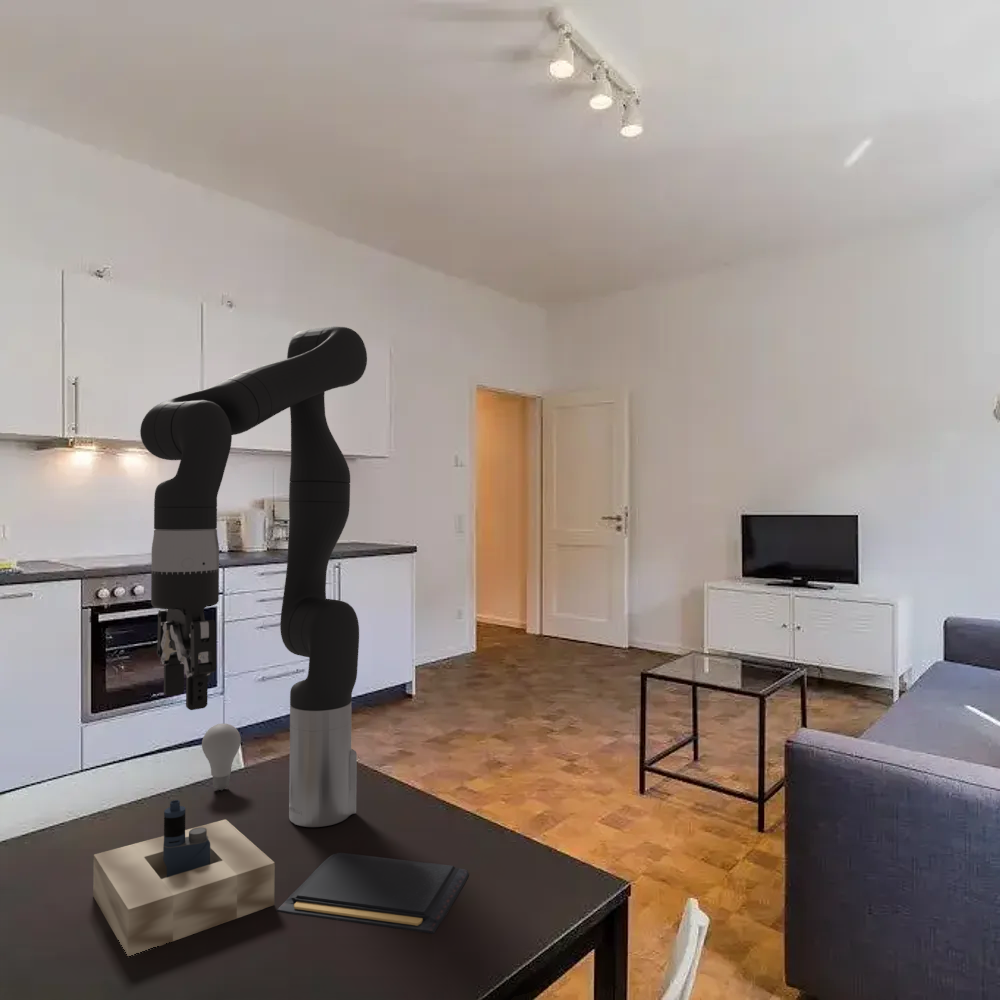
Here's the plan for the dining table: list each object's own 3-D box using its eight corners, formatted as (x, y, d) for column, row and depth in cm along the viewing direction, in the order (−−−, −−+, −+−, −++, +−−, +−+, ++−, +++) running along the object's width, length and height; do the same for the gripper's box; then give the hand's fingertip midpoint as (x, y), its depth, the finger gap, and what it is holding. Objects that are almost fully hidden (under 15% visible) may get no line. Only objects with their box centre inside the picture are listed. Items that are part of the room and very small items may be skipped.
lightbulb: (227, 798, 120) (227, 730, 120) (193, 795, 121) (194, 728, 121) (247, 784, 126) (248, 720, 126) (215, 782, 127) (215, 717, 127)
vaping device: (162, 900, 89) (164, 799, 89) (209, 892, 91) (210, 793, 91) (161, 910, 86) (162, 807, 87) (209, 902, 88) (210, 800, 89)
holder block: (225, 856, 100) (225, 819, 100) (274, 904, 88) (274, 862, 88) (93, 896, 90) (93, 854, 90) (127, 957, 77) (128, 909, 77)
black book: (472, 861, 96) (432, 925, 81) (472, 876, 96) (432, 943, 81) (333, 843, 101) (271, 900, 87) (333, 857, 101) (271, 916, 87)
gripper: (238, 569, 86) (237, 708, 86) (197, 561, 97) (197, 685, 97) (171, 572, 81) (170, 720, 81) (136, 564, 92) (135, 694, 92)
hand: (184, 701), depth 89 cm, fingers open, 8 cm apart
